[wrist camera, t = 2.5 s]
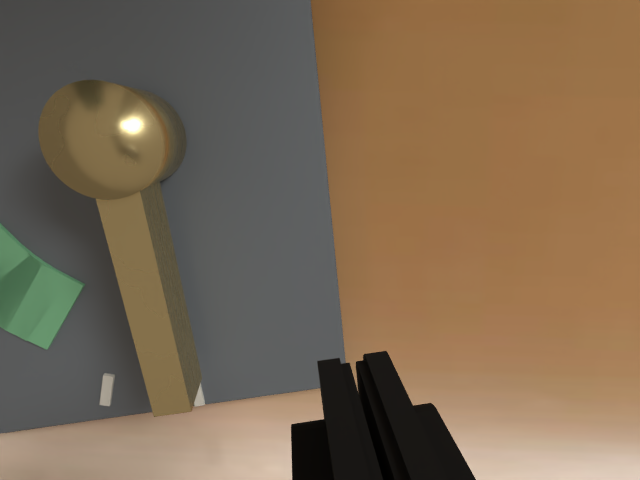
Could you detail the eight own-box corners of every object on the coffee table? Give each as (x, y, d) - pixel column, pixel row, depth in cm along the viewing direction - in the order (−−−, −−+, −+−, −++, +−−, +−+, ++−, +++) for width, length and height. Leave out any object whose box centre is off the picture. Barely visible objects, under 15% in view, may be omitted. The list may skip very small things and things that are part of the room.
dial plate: (-221, -95, 16) (-280, -121, 14) (294, -134, 17) (295, -162, 15) (-11, 417, 22) (-34, 440, 21) (343, 368, 23) (348, 386, 22)
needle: (79, 94, 17) (22, 85, 13) (176, 84, 17) (146, 73, 13) (151, 372, 21) (122, 425, 17) (229, 361, 21) (218, 412, 17)
